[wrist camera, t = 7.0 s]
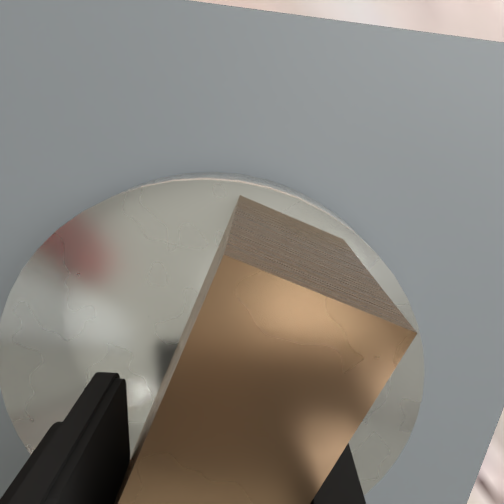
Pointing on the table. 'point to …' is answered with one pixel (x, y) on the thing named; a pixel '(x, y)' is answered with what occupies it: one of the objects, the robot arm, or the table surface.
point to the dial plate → (281, 168)
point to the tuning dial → (218, 340)
